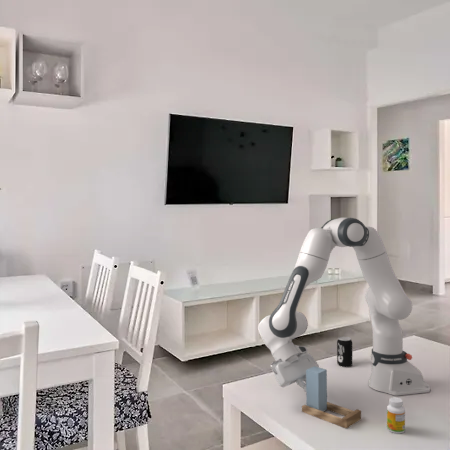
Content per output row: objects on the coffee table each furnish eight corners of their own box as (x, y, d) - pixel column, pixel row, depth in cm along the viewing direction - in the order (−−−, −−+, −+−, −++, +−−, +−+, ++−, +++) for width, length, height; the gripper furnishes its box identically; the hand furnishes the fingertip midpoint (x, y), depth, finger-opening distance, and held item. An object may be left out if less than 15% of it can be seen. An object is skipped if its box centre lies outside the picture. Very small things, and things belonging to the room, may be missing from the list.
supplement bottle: (384, 426, 151) (384, 396, 151) (400, 425, 152) (400, 395, 151) (391, 434, 146) (391, 403, 145) (408, 433, 146) (408, 402, 146)
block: (306, 409, 164) (306, 369, 163) (314, 405, 167) (314, 366, 166) (318, 413, 160) (318, 373, 159) (326, 409, 163) (326, 369, 163)
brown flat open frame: (301, 411, 163) (301, 403, 162) (317, 403, 169) (317, 395, 169) (346, 428, 150) (346, 419, 150) (361, 419, 156) (361, 410, 156)
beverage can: (352, 367, 205) (352, 340, 204) (337, 367, 206) (337, 340, 206) (351, 362, 211) (351, 336, 211) (336, 362, 213) (336, 335, 212)
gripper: (273, 358, 163) (296, 394, 157) (308, 345, 177) (330, 377, 171) (263, 368, 167) (285, 403, 160) (299, 354, 181) (320, 386, 174)
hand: (309, 389), depth 166 cm, fingers closed, pressing on block
